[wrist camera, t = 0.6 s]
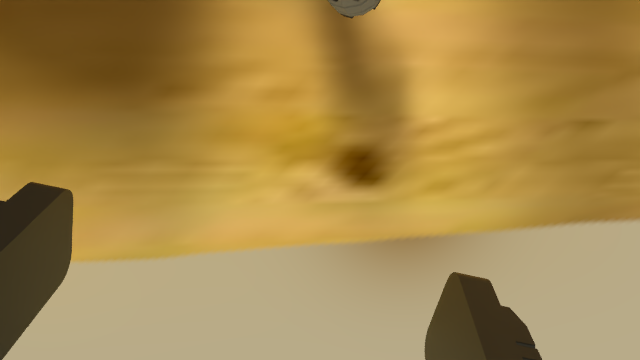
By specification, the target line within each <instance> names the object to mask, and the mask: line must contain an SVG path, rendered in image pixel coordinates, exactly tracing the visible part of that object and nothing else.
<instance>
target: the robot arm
mask: <svg viewBox="0 0 640 360" xmlns="http://www.w3.org/2000/svg"><path fill="white" fill-rule="evenodd" d="M72 224H73V195H72V192H71V191H70V190H68V189H63V188H58V187H53V186H49V185H44V184H39V183H34V182H30V183H28V184H27V185H25V186H24V187H23V188H22V189H21V190H19V191H18V192H17V193H16V194H15V195H13V196H12V197H11V198H10V199H9V200H7V201H6V202H5V201H0V360H2V359H3V358H4V356H5V355H6V354H7V352H8V351H9V350H10V349H11V347H12V346H13V345H14V344H15V342H16V341H17V340H18V338H19V337H20V336H21V335H22V333H23V332H24V331H25V329H26V328H27V327H28V326H29V324H30V323H31V322H32V320H33V319H34V318H35V316H36V315H37V314H38V313H39V311H40V310H41V309H42V308H43V306H44V305H45V304H46V302H47V301H48V300H49V299H50V297H51V296H52V295H53V293H54V292H55V291H56V290H57V288H58V287H59V286H60V284H61V283H62V281H63V280H64V278H65V276H66V273H67V271H68V268H69V264H70V260H71V252H72ZM425 341H426V342H425V359H426V360H542V358H541V357H540V354H539V352H538V350H537V349H535V343H534V341H533V339H532V337H531V335H530V332H529V330H528V328H527V326H526V325H525V324H524V323H523V322H522V321H521V320H520V319H519V317H518V316H517V315H516V314H515V313H514V312H513V311H512V310H511V309H510V308H509V307H504V306H501V305H500V303H499V301H498V298H497V296H496V294H495V291H494V289H493V286H492V284H491V282H490V281H489V280H488V279H485V278H480V277H475V276H470V275H466V274H461V273H456V272H453V273H452V274H451V275H450V276H449V278H448V280H447V282H446V284H445V287H444V289H443V292H442V295H441V297H440V300H439V302H438V305H437V307H436V310H435V312H434V315H433V317H432V320H431V322H430V325H429V328H428V331H427V335H426V340H425Z"/></svg>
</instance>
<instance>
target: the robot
mask: <svg viewBox="0 0 640 360" xmlns="http://www.w3.org/2000/svg"><path fill="white" fill-rule="evenodd" d="M328 2H329V3H330V4H331V5H332V6H333V7H334V8H335V9H336V10H337V12H339V13H340V14H341V15H343V16H346V17H349V18H353V17H354V16H358V15H364V14H365V13H367V12H368V11H370V10H372V9H374V10H375V9H376V7H377V6H378V4H379V2H380V0H328Z"/></svg>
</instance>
